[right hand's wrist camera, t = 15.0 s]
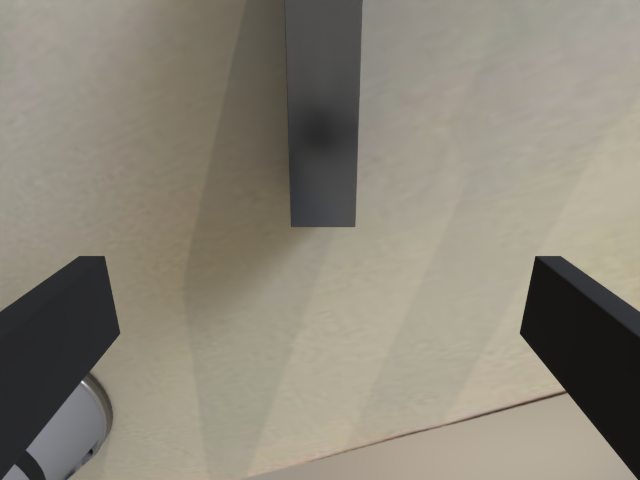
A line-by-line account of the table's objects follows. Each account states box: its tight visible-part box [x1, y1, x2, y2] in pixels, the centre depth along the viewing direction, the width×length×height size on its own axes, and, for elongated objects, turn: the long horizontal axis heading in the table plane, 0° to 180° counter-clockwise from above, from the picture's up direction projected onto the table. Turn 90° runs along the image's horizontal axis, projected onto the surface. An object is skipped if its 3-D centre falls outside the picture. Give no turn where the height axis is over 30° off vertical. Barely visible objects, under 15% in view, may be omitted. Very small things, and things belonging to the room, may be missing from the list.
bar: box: [285, 0, 362, 227], centre depth 27 cm, size 26×4×9 cm, turn 0°
